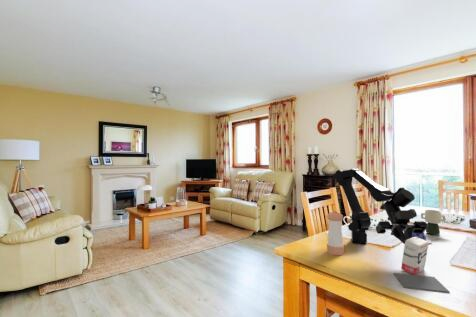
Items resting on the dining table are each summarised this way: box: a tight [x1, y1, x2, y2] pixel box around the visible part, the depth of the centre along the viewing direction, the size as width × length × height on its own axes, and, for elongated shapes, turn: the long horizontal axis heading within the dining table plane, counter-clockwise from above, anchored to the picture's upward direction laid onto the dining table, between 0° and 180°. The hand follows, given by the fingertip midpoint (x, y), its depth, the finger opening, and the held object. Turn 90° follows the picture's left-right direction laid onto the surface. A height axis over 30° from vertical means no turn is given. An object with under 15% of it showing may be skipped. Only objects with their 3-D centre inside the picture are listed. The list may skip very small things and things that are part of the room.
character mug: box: [420, 209, 446, 235], centre depth 145 cm, size 11×7×13 cm, turn 49°
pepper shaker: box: [326, 210, 345, 256], centre depth 118 cm, size 7×7×19 cm
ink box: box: [400, 237, 430, 275], centre depth 99 cm, size 8×5×12 cm, turn 123°
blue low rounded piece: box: [412, 231, 432, 244], centre depth 134 cm, size 12×12×5 cm
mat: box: [393, 272, 450, 294], centre depth 89 cm, size 13×10×1 cm
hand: (409, 246), depth 102 cm, fingers closed
